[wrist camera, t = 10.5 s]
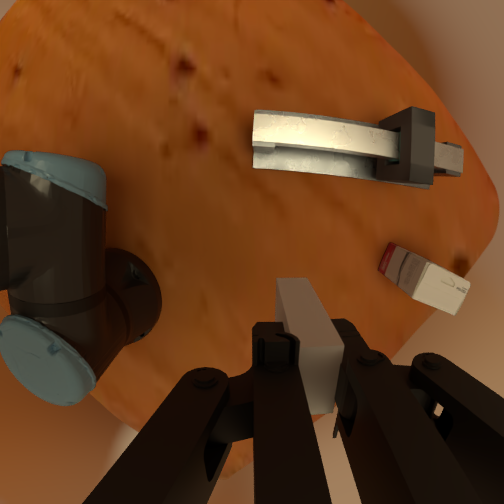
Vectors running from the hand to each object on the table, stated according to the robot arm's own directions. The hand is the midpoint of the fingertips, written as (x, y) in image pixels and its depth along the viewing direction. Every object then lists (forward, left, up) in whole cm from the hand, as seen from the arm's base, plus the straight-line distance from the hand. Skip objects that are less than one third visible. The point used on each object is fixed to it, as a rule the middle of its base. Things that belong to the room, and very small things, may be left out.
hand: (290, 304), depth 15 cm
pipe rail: (+10, +12, -28) cm, 32 cm away
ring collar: (+15, +12, -25) cm, 31 cm away
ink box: (+21, -4, -28) cm, 36 cm away
